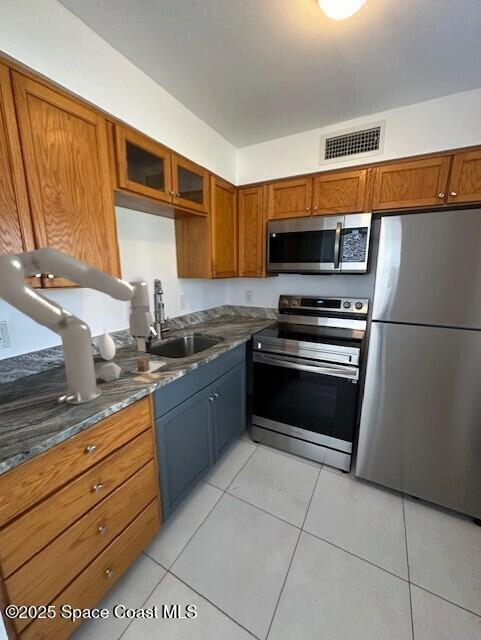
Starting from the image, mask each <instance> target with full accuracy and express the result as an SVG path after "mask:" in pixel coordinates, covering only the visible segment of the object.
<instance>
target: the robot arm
mask: <svg viewBox="0 0 481 640" xmlns="http://www.w3.org/2000/svg"><path fill="white" fill-rule="evenodd" d="M45 273H50V274H52V275H54V276H56V277H59V278H61V279H64V280H66V281H69V282H71V283H73V284H76V285H77V286H80V287H84V288H86V289H90V290H95V291H97V292H100V293H103V294H104V295H107V296H110V298H111V299H114V300H117V301H121V302H129V301H130V307H129V310H130V311H131V312H130V313H129V318H128V319H129V320H128V321H129V323H128V324H129V335H130V336H131V337H132V338H133V339H134V342H136V343H137V338H138V337H141V336H145V339H146V342H145V345H146V352H148V351H151V350H152V348H153V347H152V341H153V340H154V338H155V337H157V335H158V333H156V330H155V326H154V325H155V324H154V320H153V316H152V312H150V303H149V291H148V283H147V282H146V281H142V280H141V281H140V280H138V281H130V282H127V281H126V280H123V279H121V278H119V277H116V276H115V275H112V274H110V273H107V272H106V271H103V270H101V269H99V268H97V267H94V266H93V265H90V264H88V263H85V262H84V261H81V260H79V259H77V258H75V257H73V256H71V255H69V254H67V253H64V252H62V251H61V250H58V249H57V248H53V247H50V246H44V247H43V246H42V247H40V248H38V249H34V250H30V251H25V252H18V253H12V254H9V253H3V254H0V299H1V300H3V301H4V302H5V303H7V304H9V305H10V307H11V306H12V308H14V309H16V310H17V311H19V312H21V314H23V315H25V316H27V317H28V318H30V319H31V320H32V321H34V323H36V324H38V325H40V326H43V327H46V328H47V329H49V330H50V331H51V332H53V333H55V334H57V335H58V336H60V338H61V344H62V354H63V360H64V365H65V372H66V378H67V379H66V380H67V385H68V386H67V387H68V389H66V391H65V392H66V393H64V395H62V396H59V397H58V398H57V402H58V403H60V404H61V403H63V402H64V401H65V402H66V403H68V404H69V405H70V404H71V405H76V404H77V405H78V404H79V405H81V404H85V403H88V402H91V401H94V400H96V399H98V398H99V397H100V396H101V395H102V394H103V391H102V388H100V387H98V386H97V378H96V371H95V365H94V364H95V362H94V355H93V347H92V346H93V345H92V332H91V329H90V326H89V324H87V323H86V322H85V321H84V320H82V319H80V318H79V317H77V316H76V315H74V314H73V313H71V312H70V311H69V310H67V309H66V308H64V307H63V306H62V305H60V304H59V303H57V302H56V301H54V300H52V299H50V298H48V297H46V296H45V295H44V294H42V293H41V292H39V291H38V290H36V289H35V288H34V287H32V286H31V284H29V283H28V282H27V281H26V279H25V278H28V277H32V276H36V275H40V274H45ZM148 337H149V338H148ZM136 349H137V351H138V346H137V345H136Z"/></svg>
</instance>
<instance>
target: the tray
mask: <svg viewBox="0 0 481 640" xmlns="http://www.w3.org/2000/svg"><path fill="white" fill-rule="evenodd" d="M166 364H167V362H166V361H159V360H149V365H150V370H148V371H146V372H138V367H135V368H134V369H132V370H130V371H129V373H130V374H138V375H142V374H149V373H151V374H152V373H153V372H154V371H156V370H158V369H160V368H162V366H164V365H166Z"/></svg>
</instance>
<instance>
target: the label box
mask: <svg viewBox="0 0 481 640" xmlns="http://www.w3.org/2000/svg"><path fill="white" fill-rule="evenodd" d="M148 338H149V337H148ZM145 342H146V339H145V336H141V337H138V338H137V342H136V347H137V346H138V350H137V351H138V352H147V351H146V345H145Z"/></svg>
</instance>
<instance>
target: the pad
mask: <svg viewBox="0 0 481 640" xmlns="http://www.w3.org/2000/svg"><path fill="white" fill-rule="evenodd" d="M160 376H161V374H159V373H158V374H156V373H152V372H151V373H149V374H139V375H138V376H137V377H135V378H133V379H132V380H131V381H133V382H140V383H147V384H149V383H151V382H152V381H154V380H155V379H157V378H159V377H160Z"/></svg>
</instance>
